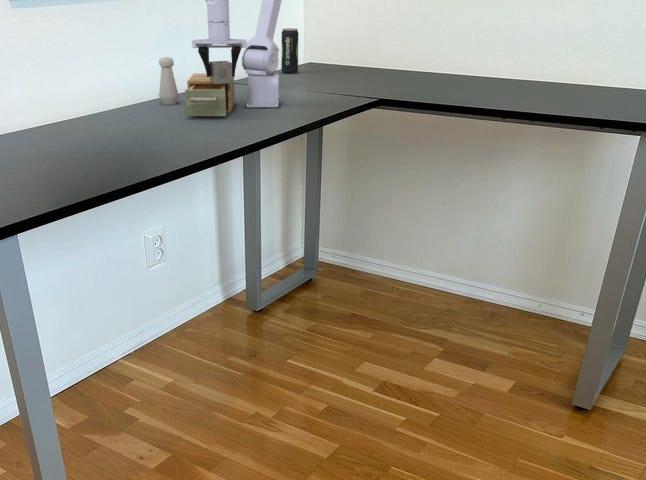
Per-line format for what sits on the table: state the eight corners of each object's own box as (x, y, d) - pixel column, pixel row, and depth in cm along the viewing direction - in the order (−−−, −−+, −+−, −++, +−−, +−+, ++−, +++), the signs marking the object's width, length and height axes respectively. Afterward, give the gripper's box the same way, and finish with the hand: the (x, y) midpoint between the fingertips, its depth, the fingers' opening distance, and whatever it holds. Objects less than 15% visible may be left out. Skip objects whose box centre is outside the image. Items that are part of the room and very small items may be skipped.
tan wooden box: (231, 112, 202) (229, 81, 198) (189, 112, 202) (187, 81, 198) (234, 103, 214) (233, 73, 209) (195, 103, 214) (193, 73, 210)
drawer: (224, 120, 189) (223, 93, 186) (184, 120, 189) (182, 93, 186) (229, 107, 204) (228, 82, 201) (192, 107, 205) (191, 82, 201)
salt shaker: (175, 105, 211) (171, 59, 205) (157, 105, 212) (153, 58, 206) (181, 102, 216) (178, 56, 210) (163, 101, 217) (160, 56, 211)
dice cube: (227, 79, 197) (226, 60, 194) (232, 82, 192) (231, 63, 190) (210, 81, 195) (209, 61, 193) (214, 83, 191) (213, 64, 189)
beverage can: (280, 73, 264) (280, 29, 256) (282, 71, 269) (282, 28, 261) (296, 74, 263) (297, 30, 255) (299, 71, 268) (299, 28, 260)
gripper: (189, 23, 183) (192, 78, 190) (244, 23, 183) (246, 78, 189) (192, 20, 189) (195, 74, 196) (246, 20, 189) (247, 74, 196)
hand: (220, 76), depth 193 cm, fingers closed on dice cube, 6 cm apart
